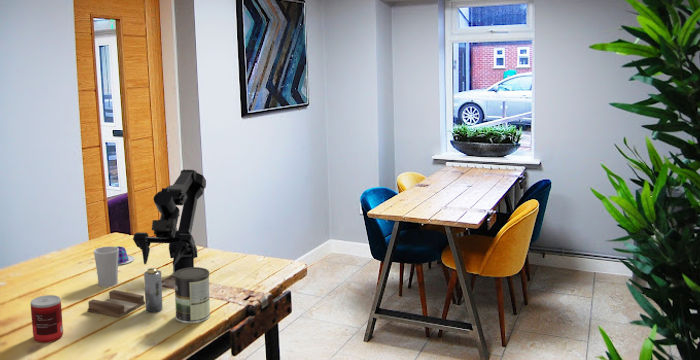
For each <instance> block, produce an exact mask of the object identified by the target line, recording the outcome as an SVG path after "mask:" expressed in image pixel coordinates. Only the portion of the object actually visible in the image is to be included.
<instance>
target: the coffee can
mask: <svg viewBox="0 0 700 360" xmlns="http://www.w3.org/2000/svg"><path fill="white" fill-rule="evenodd" d="M173 277H174V295H175V296H174V297H175V298H174V300H175V302H174V303H175V320H176V321H177V322H179V323H182V324H199V323H202V322H206V321H207V320H209V318H210V317H211V312H210V311H211V310H210V309H211V306H210V304H211V302H210V271H209V269H207V268H204V267H199V266H198V267H197V266H194V267H190V268H183V269H180V270H178V271H176V272H175V273H174V272H173Z"/></svg>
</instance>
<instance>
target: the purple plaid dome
mask: <svg viewBox="0 0 700 360" xmlns="http://www.w3.org/2000/svg"><path fill="white" fill-rule="evenodd" d="M116 247H117V248H118V249H119V253H118V266H119V265H124V264H128V263H131V262H132V261H134V259H135V257H134V256H133V255H128V254H127V250H126V248H125V247H124V246H116Z"/></svg>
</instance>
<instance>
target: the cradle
mask: <svg viewBox="0 0 700 360" xmlns="http://www.w3.org/2000/svg"><path fill="white" fill-rule="evenodd" d="M108 296H109V297H108V299H105V300H99V299H98V300H97V299H95V298H94V299H91V300H89V301H88V302H87V303H88V308H87V312H90V313H95V314H99V315H104V316H109V317H113V318H122V317H123V316H125V315H127V314H128V313H129V314H130V312H131V313H132V312H133V311H134V310H137V309H138V308H140V307H142V306H144V305H146V303H145V294H144V295H142V294H137V293H133V292H128V291H122V290H116V289H112V290H111V291H108Z"/></svg>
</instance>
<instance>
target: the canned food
mask: <svg viewBox="0 0 700 360" xmlns="http://www.w3.org/2000/svg"><path fill="white" fill-rule="evenodd" d="M30 314H31V326H32V335H33V339H34V341H36V342H37V343H43V344H44V343H45V344H46V343H53V342H55V341H58V340H60V339H61V338H62V337H63V334H64V328H63V327H64V326H63V325H64V324H63V315H62V314H63V312H62V300H61V297H60V296H58V295H53V294H50V295H49V294H48V295H47V294H46V295H42V296H38V297H35V298H33V299H31V301H30Z"/></svg>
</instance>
